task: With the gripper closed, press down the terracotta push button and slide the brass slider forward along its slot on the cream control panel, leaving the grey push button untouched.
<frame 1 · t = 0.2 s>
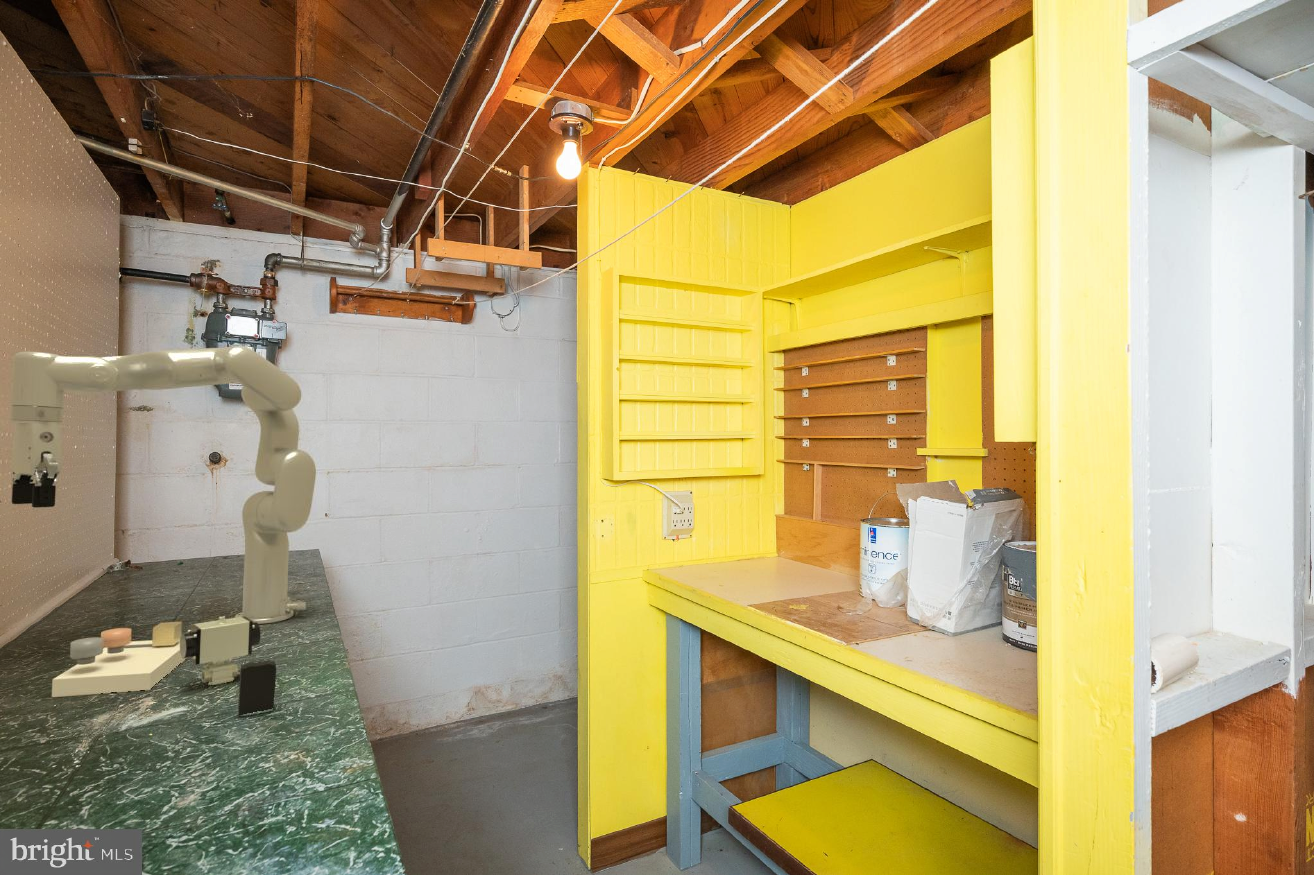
hand: (32, 505, 128), 31 cm above the workbench, tool pointing down, fingers open, 9 cm apart
pneumatic valve: (218, 682, 122), on the workbench
terracotta button: (116, 641, 124), point 6 cm above the workbench, slide at 0.0 cm
brass slider: (167, 633, 133), point 5 cm above the workbench, slide at 0.0 cm
control panel: (129, 672, 125), on the workbench
grey button: (86, 651, 118), point 6 cm above the workbench, slide at 0.0 cm
ink cartridge: (256, 713, 109), on the workbench
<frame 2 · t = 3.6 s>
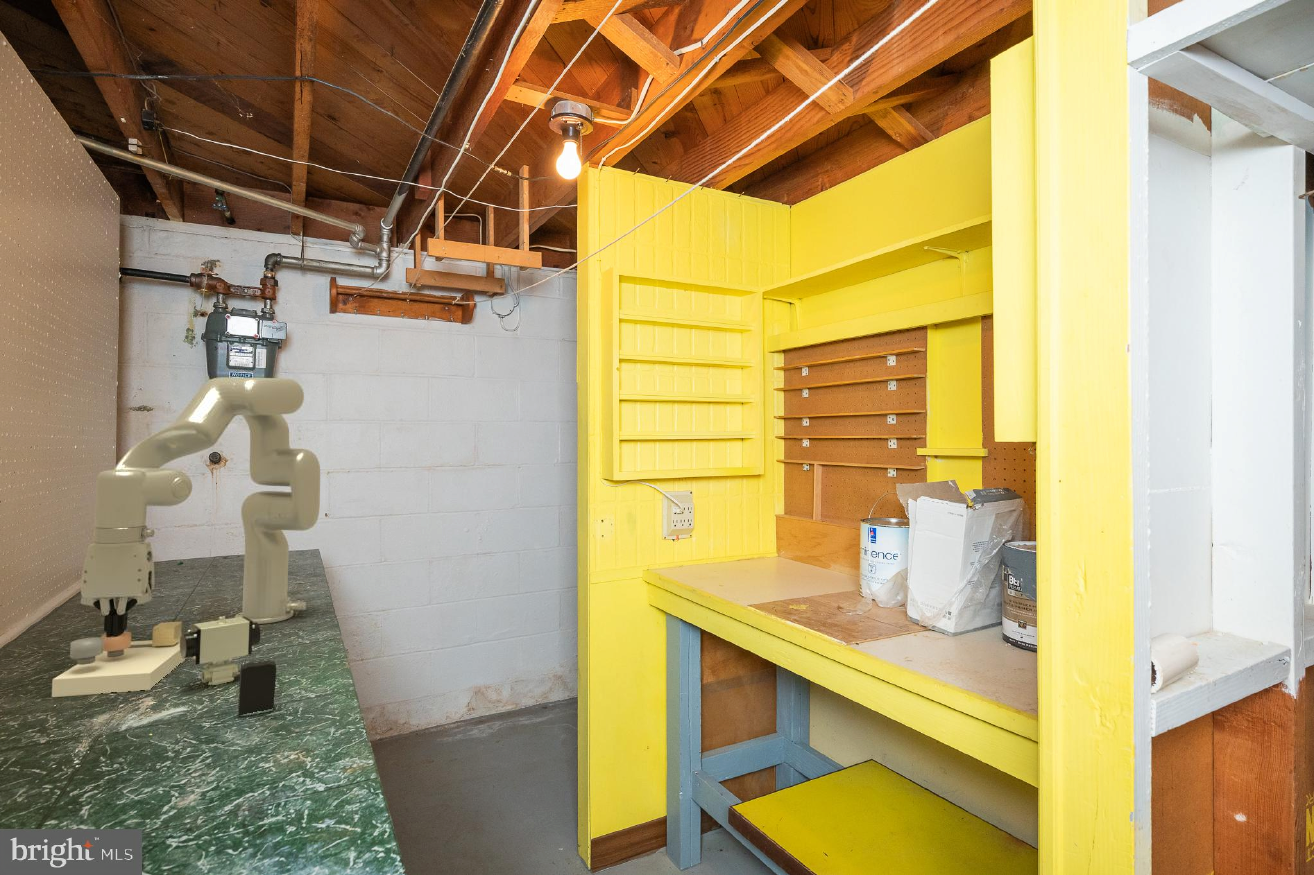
hand: (115, 634, 124), 8 cm above the workbench, tool pointing down, fingers closed
terracotta button: (115, 645, 124), point 6 cm above the workbench, slide at 0.7 cm, touching gripper
everything else where it was.
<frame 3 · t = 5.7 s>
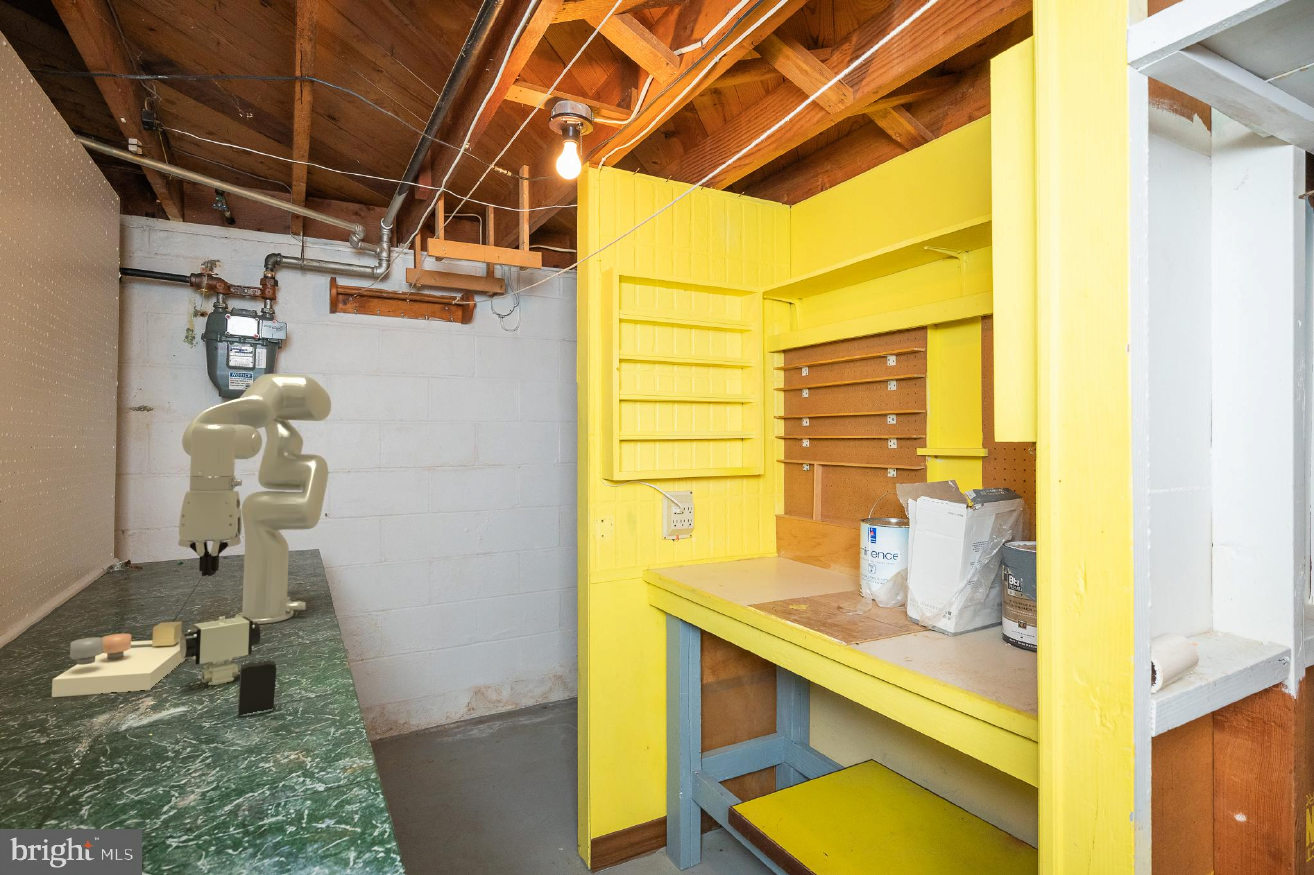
hand: (208, 574, 136), 17 cm above the workbench, tool pointing down, fingers closed
terracotta button: (115, 647, 124), point 5 cm above the workbench, slide at 1.0 cm
everything else where it was.
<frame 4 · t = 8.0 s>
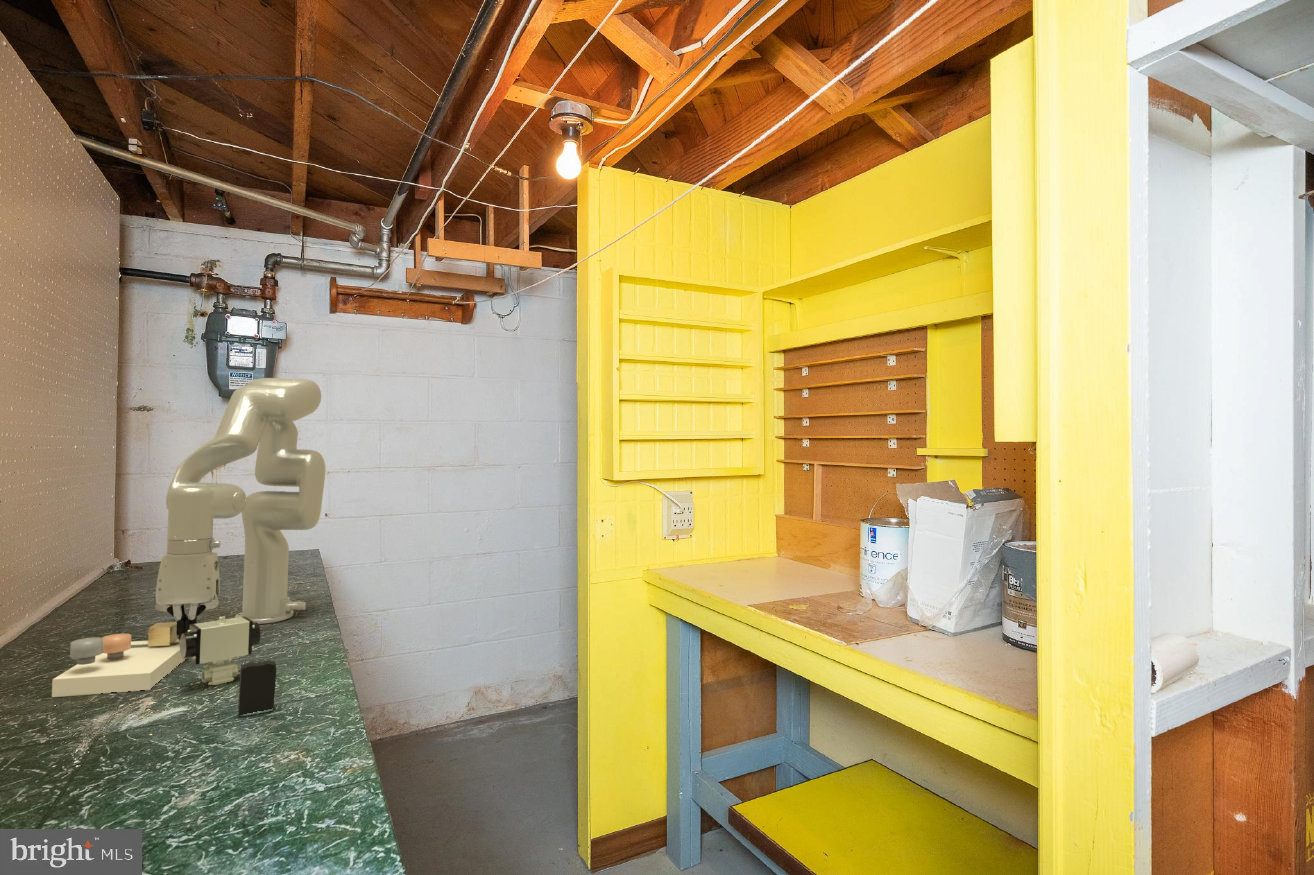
hand: (186, 638, 134), 4 cm above the workbench, tool pointing down, fingers closed
brass slider: (163, 634, 133), point 5 cm above the workbench, slide at 0.7 cm, touching gripper
everything else where it was.
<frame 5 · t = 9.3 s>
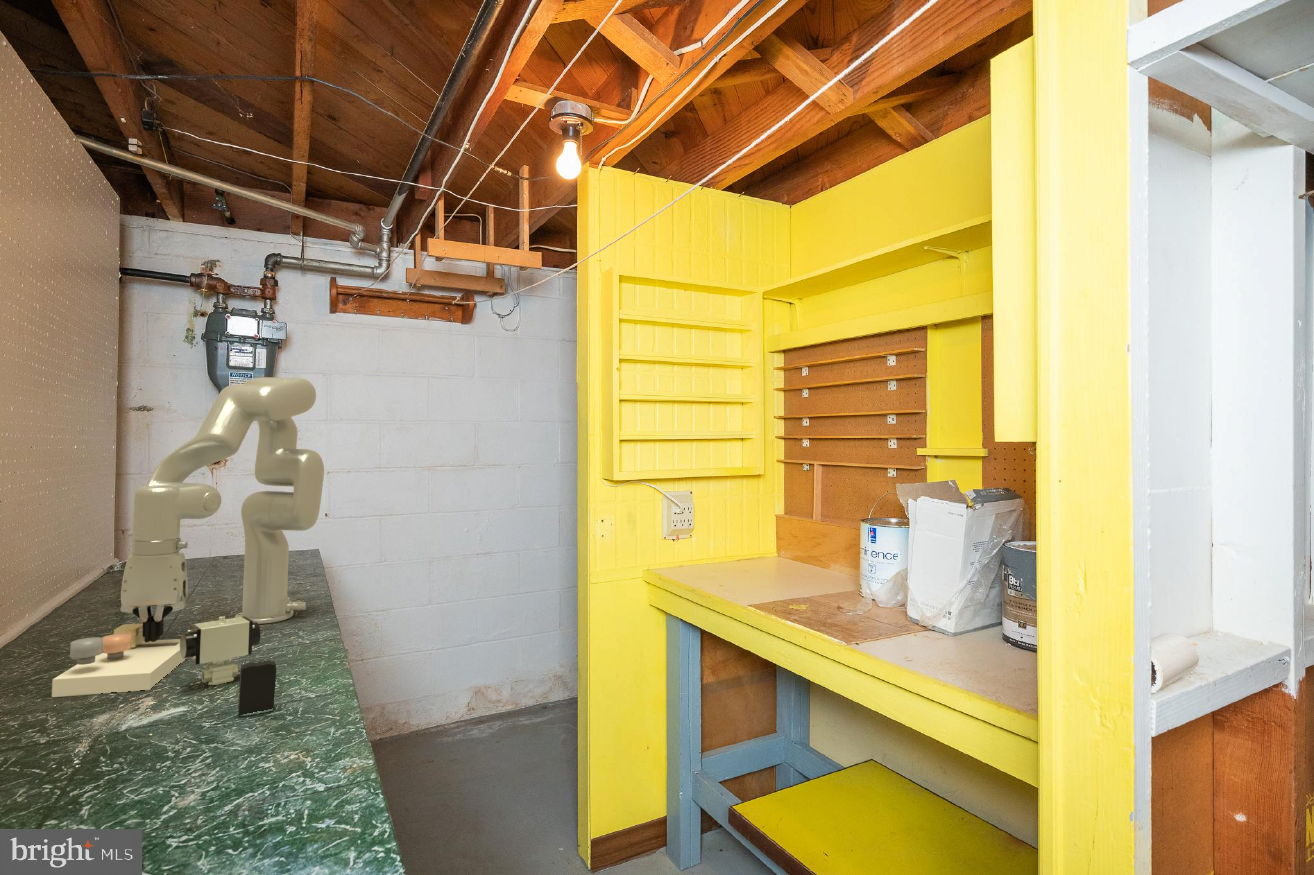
hand: (152, 640, 132), 4 cm above the workbench, tool pointing down, fingers closed
brass slider: (129, 635, 131), point 5 cm above the workbench, slide at 6.4 cm, touching gripper
everything else where it was.
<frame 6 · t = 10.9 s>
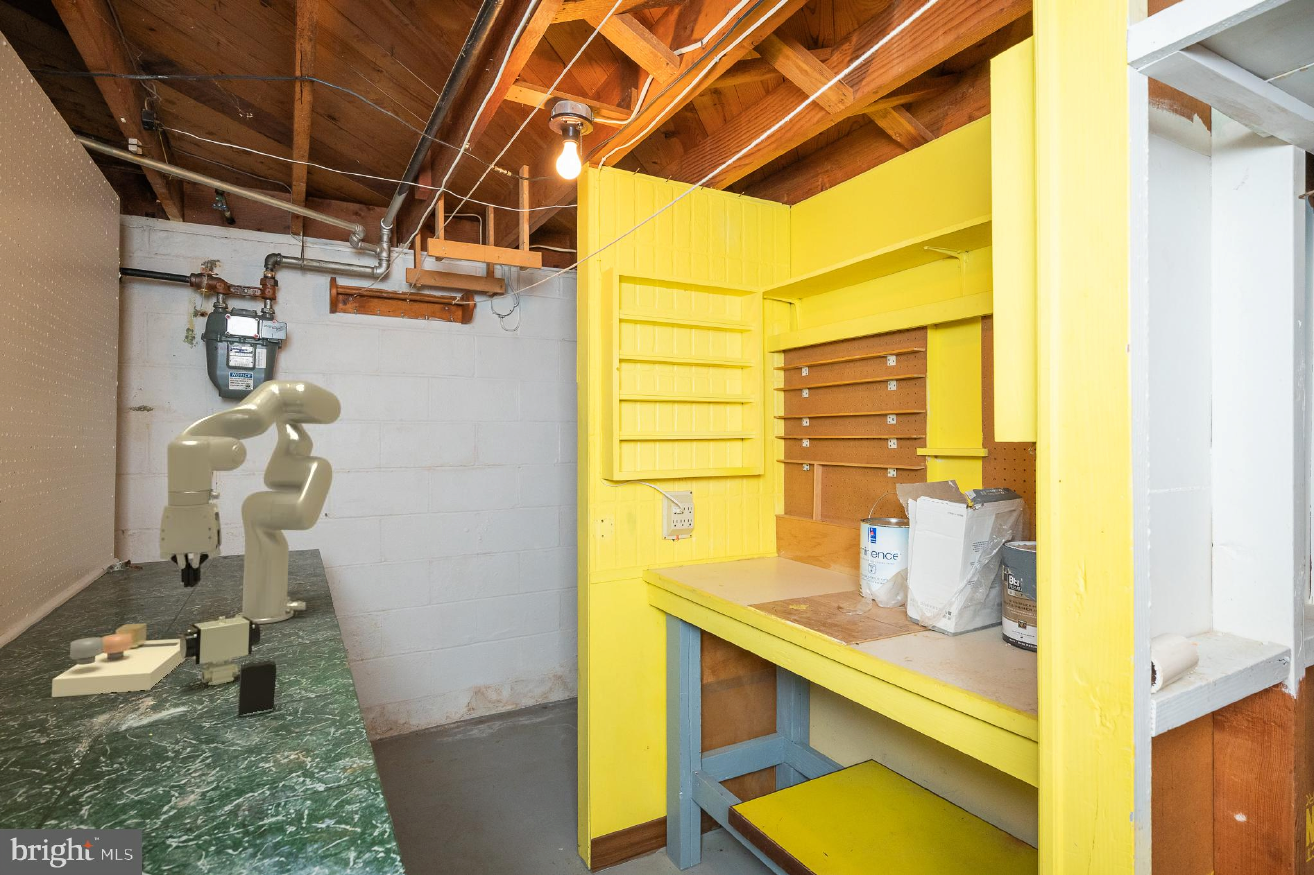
hand: (191, 585, 139), 14 cm above the workbench, tool pointing down, fingers closed
brass slider: (131, 635, 131), point 5 cm above the workbench, slide at 6.1 cm
everything else where it was.
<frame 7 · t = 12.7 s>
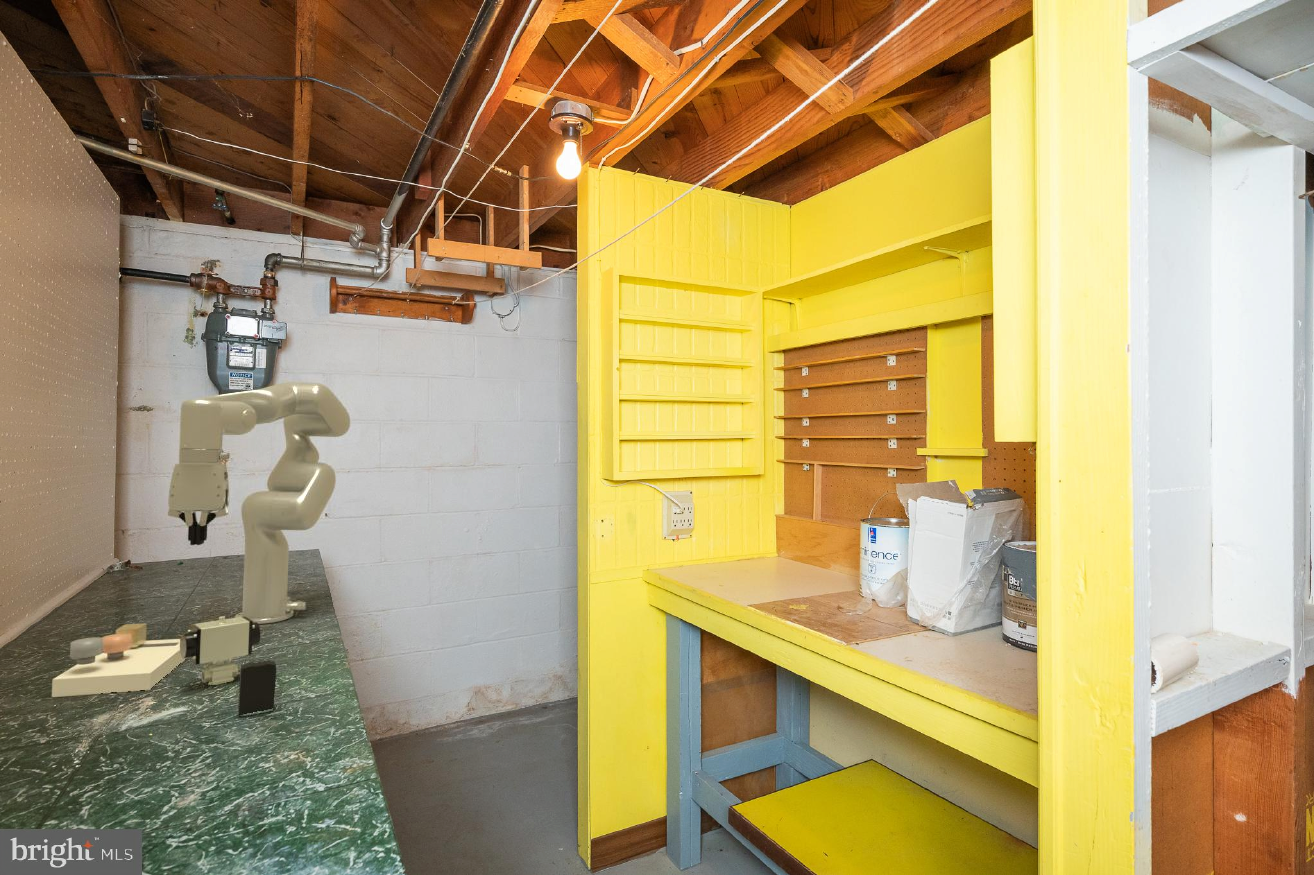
hand: (197, 544, 141), 22 cm above the workbench, tool pointing down, fingers closed
nothing on the workbench moved.
at the end: terracotta button slide at 1.0 cm; brass slider slide at 6.1 cm; grey button slide at 0.0 cm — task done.
